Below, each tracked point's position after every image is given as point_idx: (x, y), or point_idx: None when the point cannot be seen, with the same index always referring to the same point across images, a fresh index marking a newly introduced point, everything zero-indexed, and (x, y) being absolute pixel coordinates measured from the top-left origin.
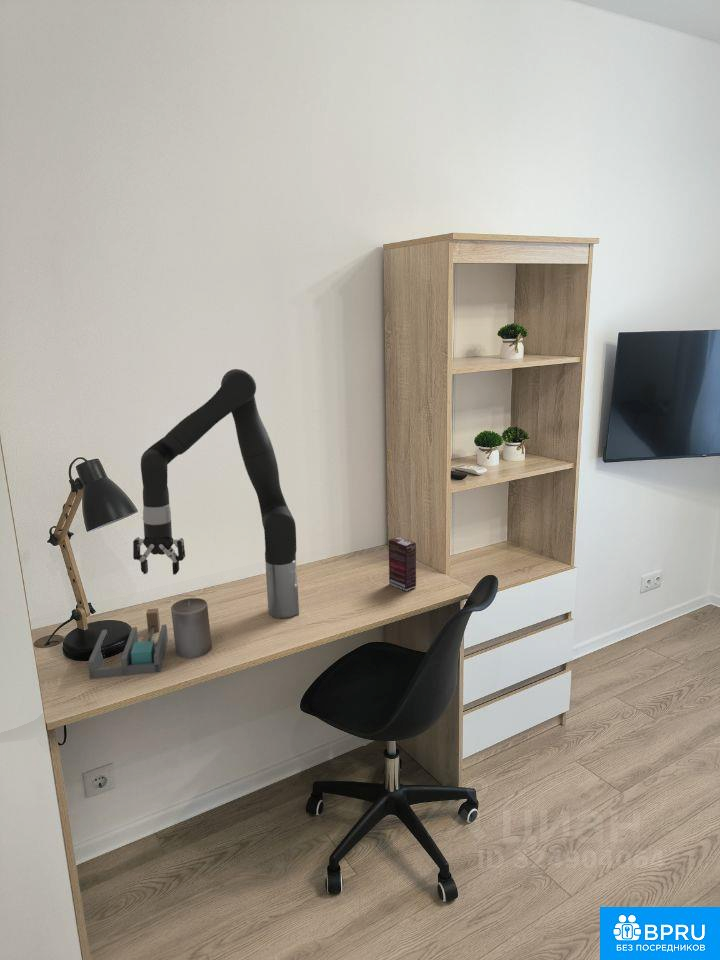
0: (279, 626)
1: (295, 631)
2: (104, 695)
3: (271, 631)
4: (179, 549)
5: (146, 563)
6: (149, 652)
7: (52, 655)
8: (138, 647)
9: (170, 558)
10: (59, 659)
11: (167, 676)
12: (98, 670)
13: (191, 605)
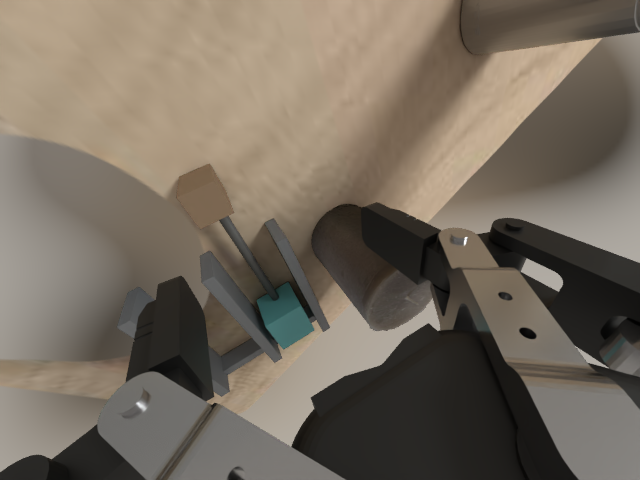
0: (470, 99)
1: (488, 118)
2: (269, 368)
3: (455, 126)
4: (586, 339)
5: (194, 349)
6: (312, 330)
7: (19, 373)
8: (284, 332)
9: (439, 316)
10: (68, 370)
11: (329, 305)
12: (234, 370)
13: (412, 296)
